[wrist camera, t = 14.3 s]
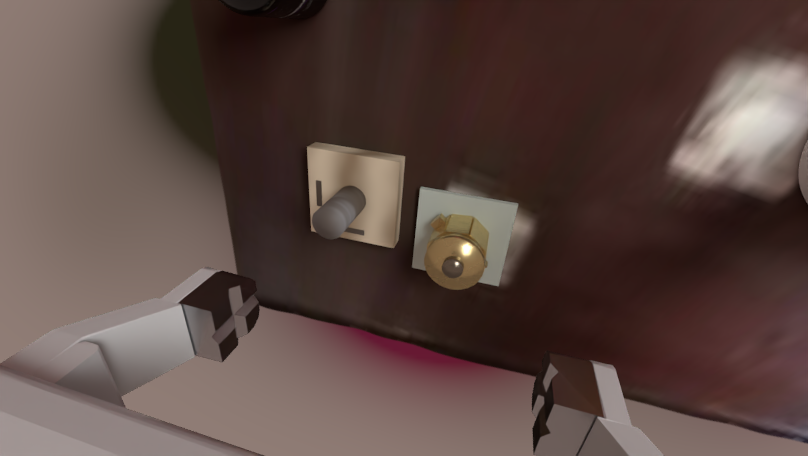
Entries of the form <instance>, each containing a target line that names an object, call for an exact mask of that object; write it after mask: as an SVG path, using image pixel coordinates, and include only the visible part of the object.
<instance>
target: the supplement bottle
mask: <svg viewBox="0 0 808 456" xmlns="http://www.w3.org/2000/svg"><path fill="white" fill-rule="evenodd" d="M219 1H220V2H221V3H222V4H223V5H225V6H226V7H227V8H229V9H230V10H232V11H234V12H236V13H238V14H242V15H247V16H256V17H273V18H289V19H304V18H308V17H311V16H313V15H314V14H316V13H317V12H318V11H319V10H320V9H321V8H322V7H323V6H324V4H325V3H326V1H327V0H219Z"/></svg>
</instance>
